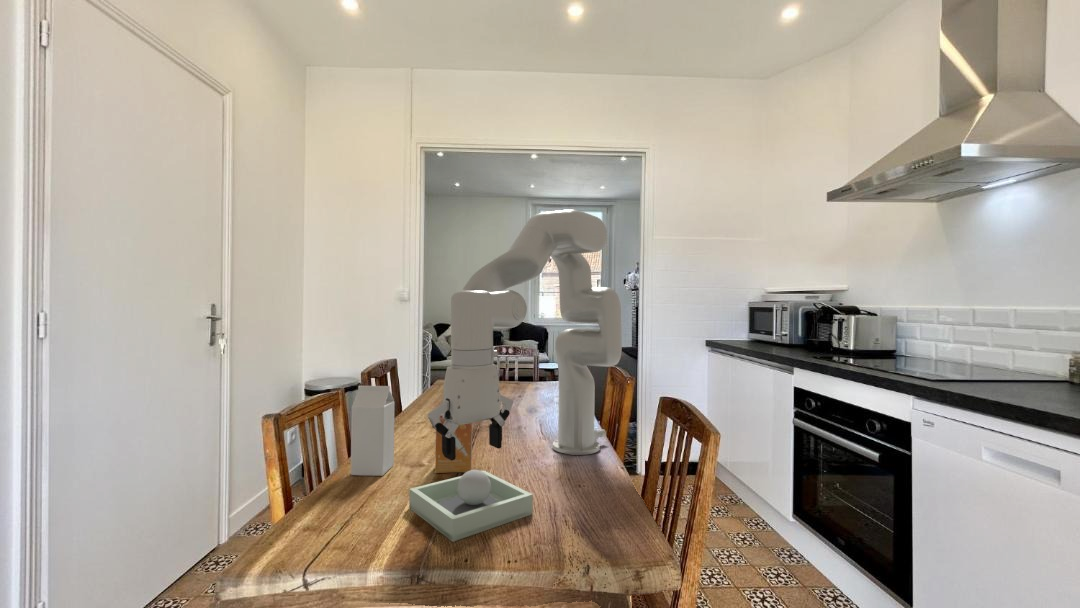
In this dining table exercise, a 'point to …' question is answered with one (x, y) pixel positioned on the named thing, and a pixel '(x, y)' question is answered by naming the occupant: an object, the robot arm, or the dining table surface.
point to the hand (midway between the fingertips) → (473, 452)
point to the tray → (459, 526)
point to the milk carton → (372, 431)
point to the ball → (474, 487)
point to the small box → (462, 451)
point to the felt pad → (463, 504)
